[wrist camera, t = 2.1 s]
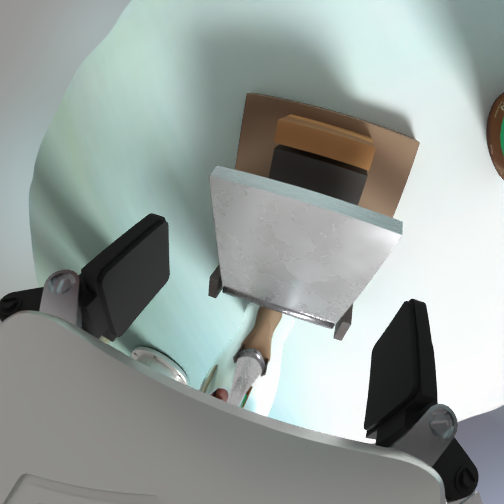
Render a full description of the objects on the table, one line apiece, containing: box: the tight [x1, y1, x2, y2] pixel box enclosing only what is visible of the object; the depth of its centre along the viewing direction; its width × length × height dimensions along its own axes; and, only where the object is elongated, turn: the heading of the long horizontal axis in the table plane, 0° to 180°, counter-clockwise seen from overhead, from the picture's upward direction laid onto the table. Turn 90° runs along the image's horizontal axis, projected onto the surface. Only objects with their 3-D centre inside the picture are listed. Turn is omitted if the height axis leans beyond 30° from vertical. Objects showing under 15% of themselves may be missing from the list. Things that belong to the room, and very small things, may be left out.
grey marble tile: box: [209, 165, 403, 329], centre depth 21 cm, size 15×11×2 cm
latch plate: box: [208, 93, 419, 340], centre depth 24 cm, size 19×14×6 cm
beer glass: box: [199, 302, 295, 417], centre depth 28 cm, size 7×7×15 cm
